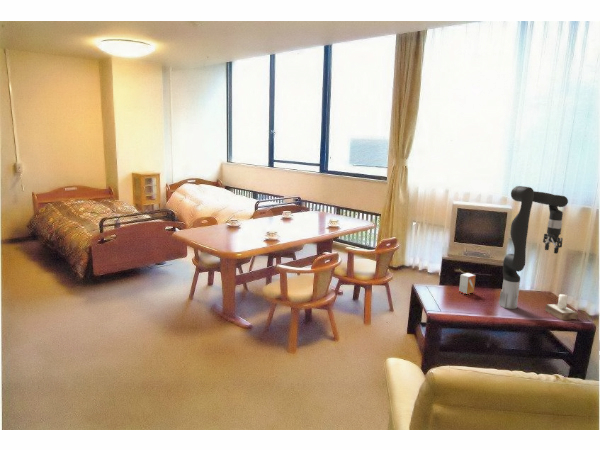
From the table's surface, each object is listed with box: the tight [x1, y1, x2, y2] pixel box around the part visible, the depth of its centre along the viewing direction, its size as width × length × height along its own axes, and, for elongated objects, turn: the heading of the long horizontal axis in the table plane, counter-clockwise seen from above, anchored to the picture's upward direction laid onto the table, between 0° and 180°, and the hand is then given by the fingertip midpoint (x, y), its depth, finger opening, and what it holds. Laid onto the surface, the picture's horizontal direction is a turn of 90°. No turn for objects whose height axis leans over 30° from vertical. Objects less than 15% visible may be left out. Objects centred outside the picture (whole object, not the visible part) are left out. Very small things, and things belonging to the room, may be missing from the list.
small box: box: [458, 272, 477, 294], centre depth 290 cm, size 8×6×13 cm
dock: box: [544, 303, 579, 321], centre depth 256 cm, size 10×14×4 cm
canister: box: [557, 293, 569, 310], centre depth 255 cm, size 4×4×8 cm
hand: (551, 251), depth 273 cm, fingers open, 8 cm apart
